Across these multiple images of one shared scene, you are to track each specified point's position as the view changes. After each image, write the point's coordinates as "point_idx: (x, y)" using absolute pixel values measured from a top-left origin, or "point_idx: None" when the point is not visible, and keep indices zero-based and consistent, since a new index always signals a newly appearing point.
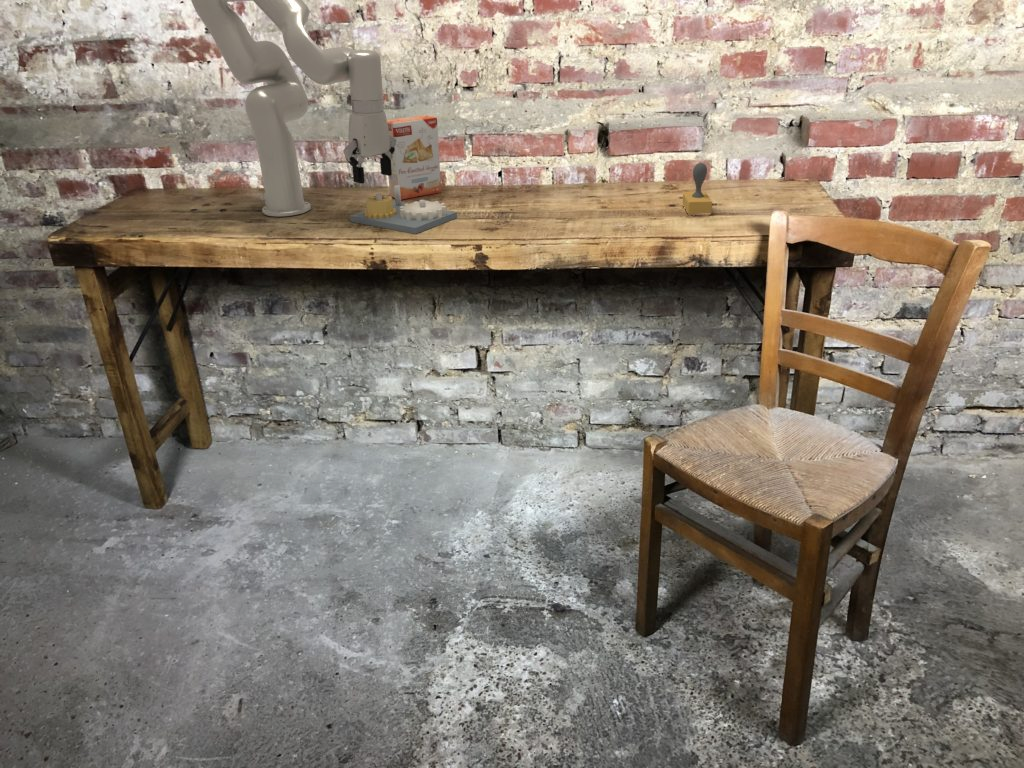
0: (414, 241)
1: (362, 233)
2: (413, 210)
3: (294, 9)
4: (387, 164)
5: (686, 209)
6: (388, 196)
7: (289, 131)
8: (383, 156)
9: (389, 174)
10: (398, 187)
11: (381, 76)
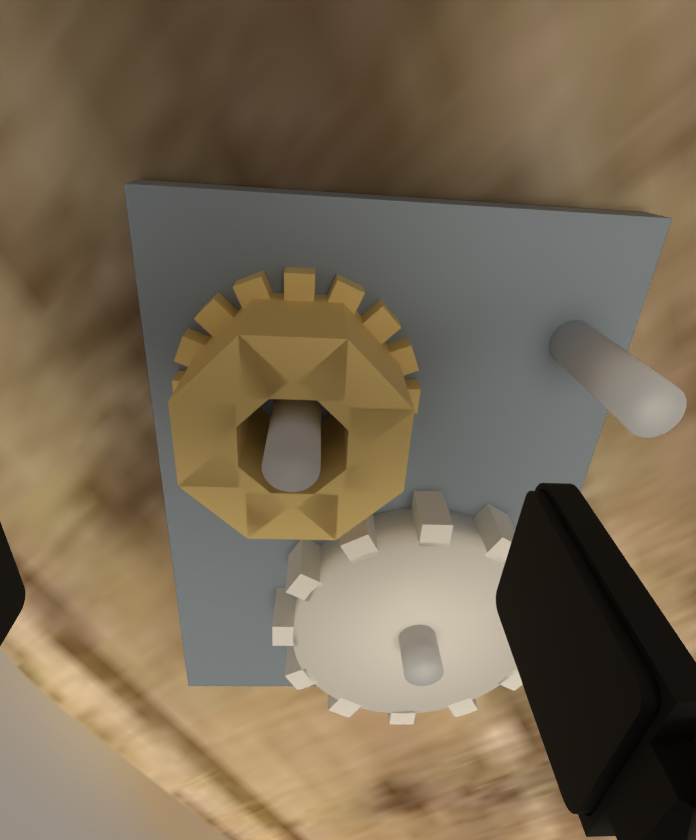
0: (114, 701)
1: (17, 453)
2: (322, 641)
3: None
4: (551, 728)
5: None
6: (388, 474)
7: None
8: (668, 821)
9: (499, 611)
10: (632, 432)
11: None
